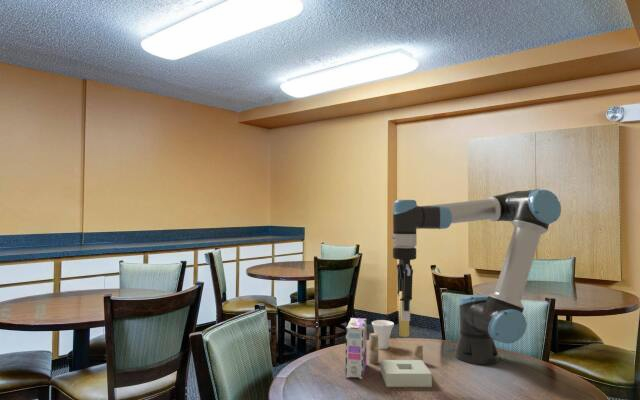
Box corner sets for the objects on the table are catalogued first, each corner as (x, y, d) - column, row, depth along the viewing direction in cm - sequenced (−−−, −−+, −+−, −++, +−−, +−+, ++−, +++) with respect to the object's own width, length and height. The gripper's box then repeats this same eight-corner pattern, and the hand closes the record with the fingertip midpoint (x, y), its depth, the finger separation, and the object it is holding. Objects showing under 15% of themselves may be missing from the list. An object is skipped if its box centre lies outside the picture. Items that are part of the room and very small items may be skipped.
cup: (371, 350, 162) (371, 324, 163) (372, 343, 172) (372, 318, 172) (394, 351, 161) (394, 325, 161) (394, 344, 170) (393, 319, 170)
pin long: (408, 334, 136) (408, 291, 137) (410, 336, 133) (410, 292, 134) (398, 333, 136) (398, 291, 137) (400, 336, 133) (400, 292, 134)
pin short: (421, 361, 151) (421, 344, 151) (423, 364, 148) (423, 347, 148) (412, 361, 151) (412, 344, 151) (414, 364, 148) (414, 347, 148)
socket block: (421, 372, 140) (421, 360, 141) (431, 386, 128) (431, 373, 129) (380, 371, 140) (380, 360, 140) (386, 386, 128) (386, 373, 128)
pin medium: (377, 360, 151) (377, 333, 151) (379, 364, 148) (379, 335, 148) (368, 360, 151) (368, 333, 151) (370, 364, 148) (370, 335, 148)
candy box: (363, 379, 134) (363, 328, 134) (345, 378, 135) (345, 327, 135) (366, 364, 147) (367, 317, 148) (350, 363, 148) (350, 317, 149)
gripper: (388, 244, 144) (388, 313, 143) (398, 248, 128) (397, 325, 127) (410, 245, 144) (410, 313, 143) (422, 249, 128) (422, 326, 127)
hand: (404, 319), depth 135 cm, fingers closed on pin long, 3 cm apart
